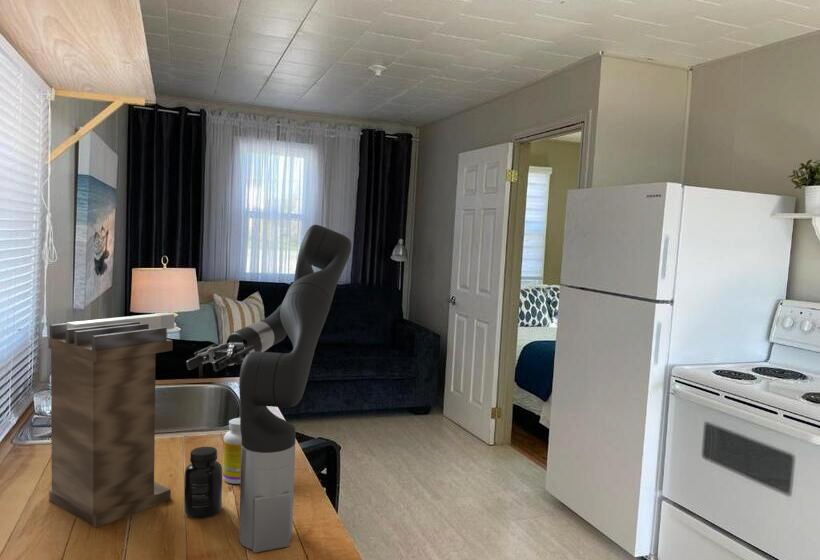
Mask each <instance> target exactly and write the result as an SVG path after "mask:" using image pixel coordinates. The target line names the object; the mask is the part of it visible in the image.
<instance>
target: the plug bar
mask: <svg viewBox="0 0 820 560" xmlns="http://www.w3.org/2000/svg"><path fill="white" fill-rule="evenodd" d="M127 322H140V324H144V323H146V324H149V329H153V328H162V327H165V328H167V330H170V329H171V330H172V329H175V313H171V312H166V311H165V312H156V313H150V314H149V313H147V314H139V315H131V316H130V315H129V316H128V315H127V316H118V317H108V318H100V319H99V318H97V319H90V320H88V319H87V320H79V321H68V322H66V323H67V329H72V328H81V327H90V326H99V325H109V324H118V323H127Z"/></svg>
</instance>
